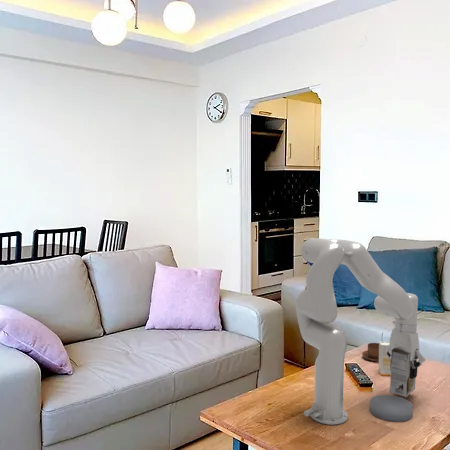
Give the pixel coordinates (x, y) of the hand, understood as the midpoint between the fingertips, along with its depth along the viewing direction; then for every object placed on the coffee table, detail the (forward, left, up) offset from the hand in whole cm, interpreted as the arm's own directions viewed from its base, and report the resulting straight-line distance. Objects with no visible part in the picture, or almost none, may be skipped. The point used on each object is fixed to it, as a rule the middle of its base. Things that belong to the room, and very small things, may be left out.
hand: (403, 374), depth 180 cm
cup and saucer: (+24, +32, -9) cm, 41 cm away
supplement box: (+15, +17, -9) cm, 24 cm away
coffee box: (0, 0, -7) cm, 7 cm away
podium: (-13, -5, -9) cm, 17 cm away
